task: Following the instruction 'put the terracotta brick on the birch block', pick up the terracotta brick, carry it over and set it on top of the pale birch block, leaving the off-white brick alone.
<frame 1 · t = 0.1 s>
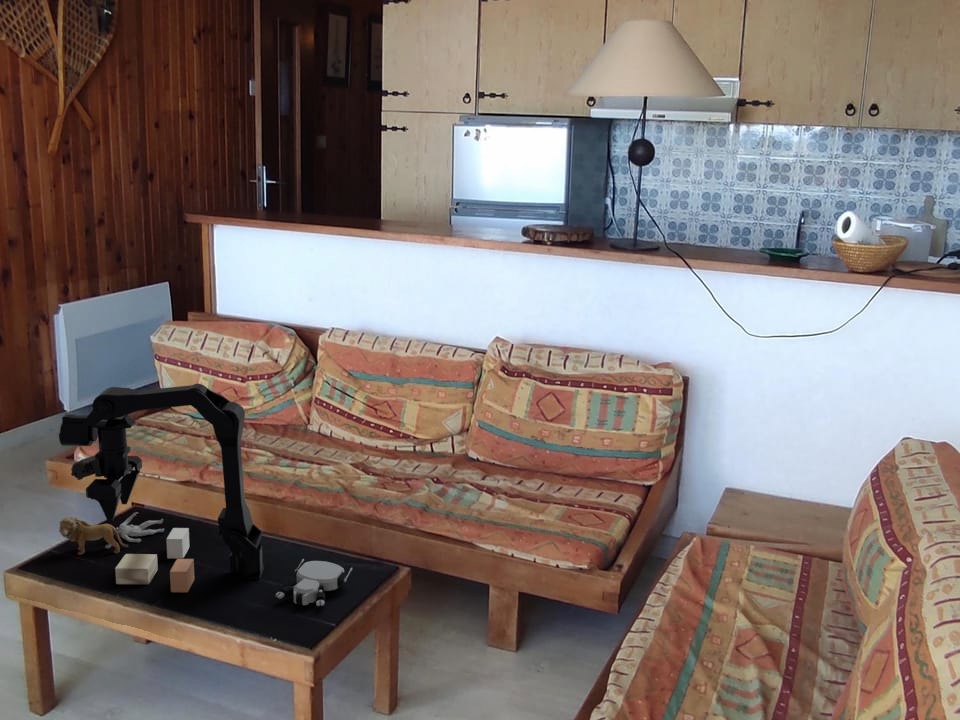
hand: (117, 512, 205), 15 cm above the table, fingers open, 9 cm apart
off-white brick: (178, 552, 219), on the table
birch block: (137, 577, 207), on the table
terracotta brick: (182, 585, 204), on the table
lion figurine: (92, 552, 218), on the table
soldier figure: (138, 537, 227), on the table
robot toy: (313, 594, 203), on the table
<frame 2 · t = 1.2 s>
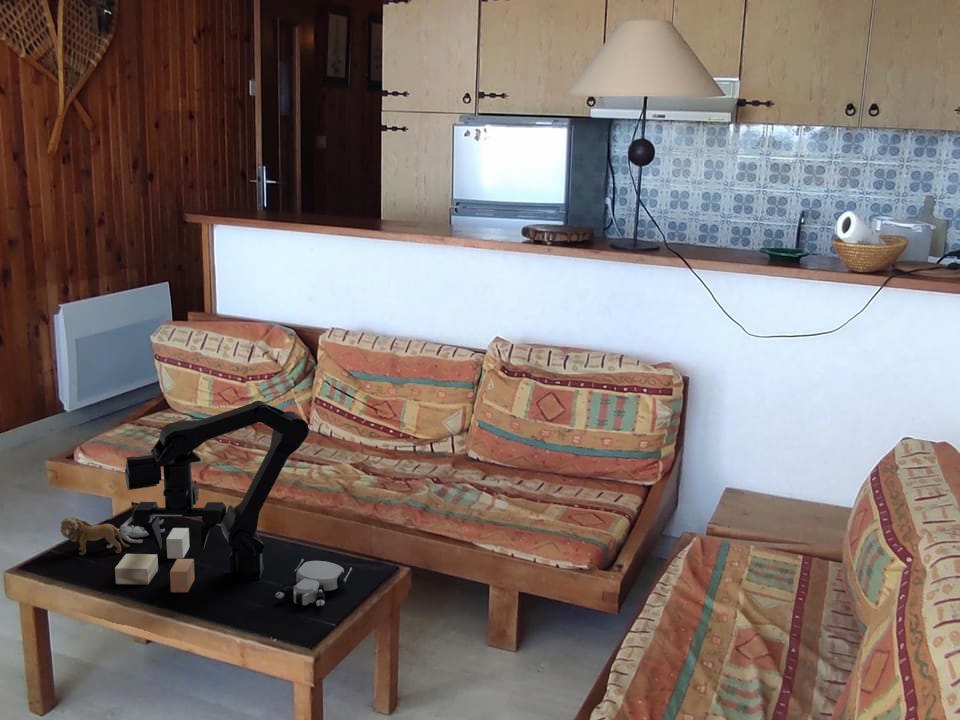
hand: (181, 548, 202), 9 cm above the table, fingers open, 9 cm apart
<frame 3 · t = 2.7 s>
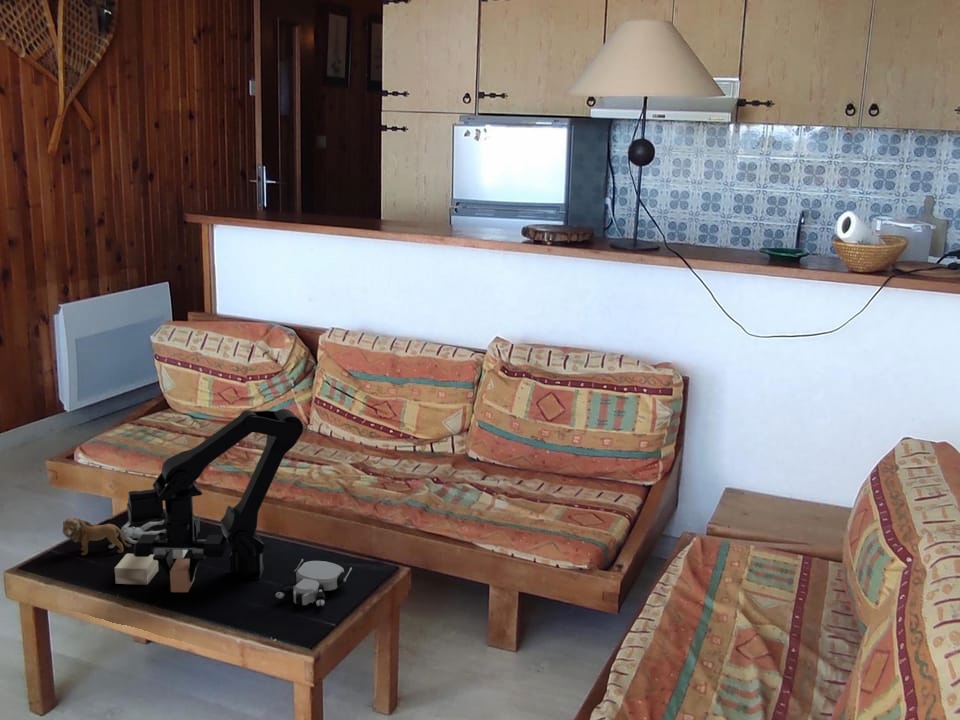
hand: (182, 581, 204), 1 cm above the table, fingers closed on terracotta brick, 4 cm apart
terracotta brick: (182, 585, 204), on the table, touching gripper
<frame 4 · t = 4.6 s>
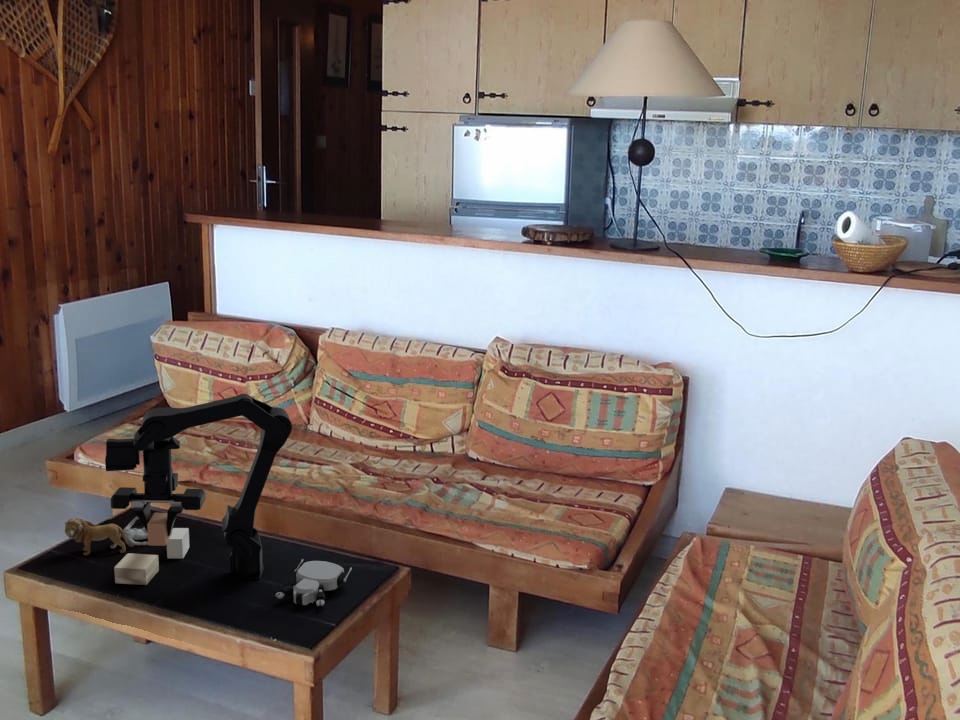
hand: (159, 535, 202), 11 cm above the table, fingers closed on terracotta brick, 4 cm apart
terracotta brick: (160, 539, 202), point 10 cm above the table, touching gripper
when the fingers open (6 cm above the table, at t = 6.5 s): terracotta brick drops 2 cm, point 4 cm above the table.
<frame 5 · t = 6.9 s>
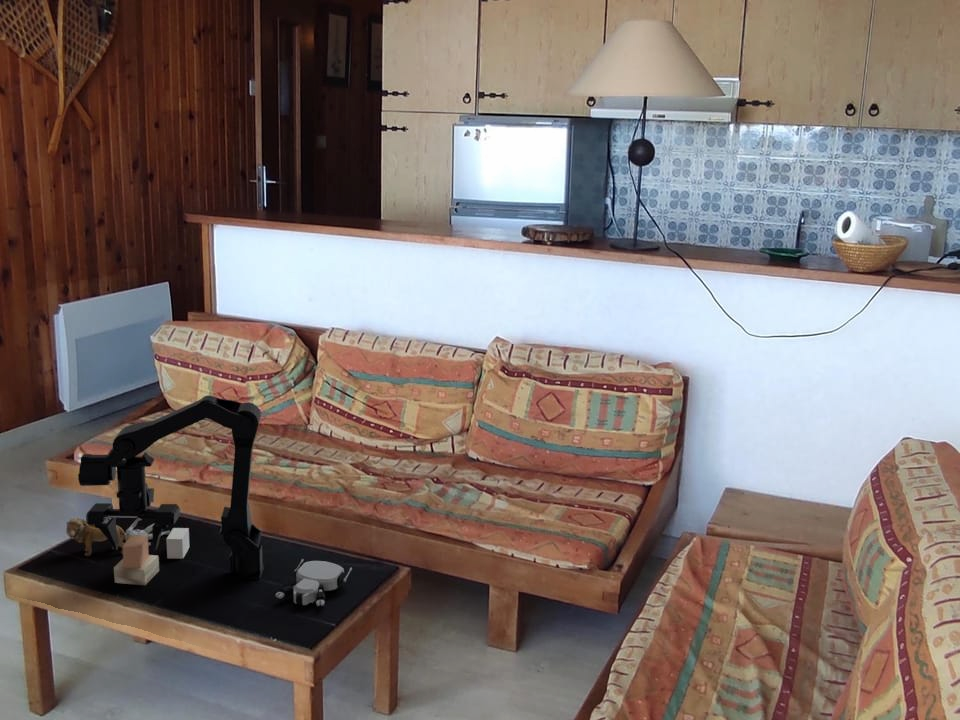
hand: (135, 549, 206), 6 cm above the table, fingers open, 8 cm apart
terracotta brick: (136, 561, 206), point 4 cm above the table
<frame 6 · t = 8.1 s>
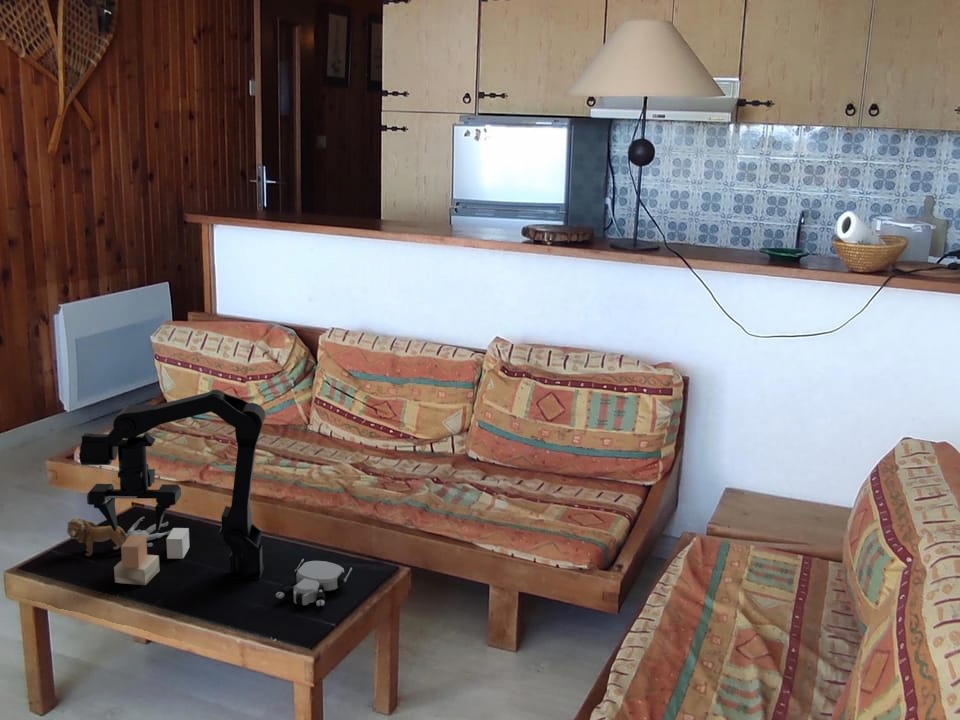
hand: (136, 530, 205), 11 cm above the table, fingers open, 9 cm apart
birch block: (137, 577, 207), on the table, touching terracotta brick
terracotta brick: (134, 561, 206), point 4 cm above the table, touching birch block
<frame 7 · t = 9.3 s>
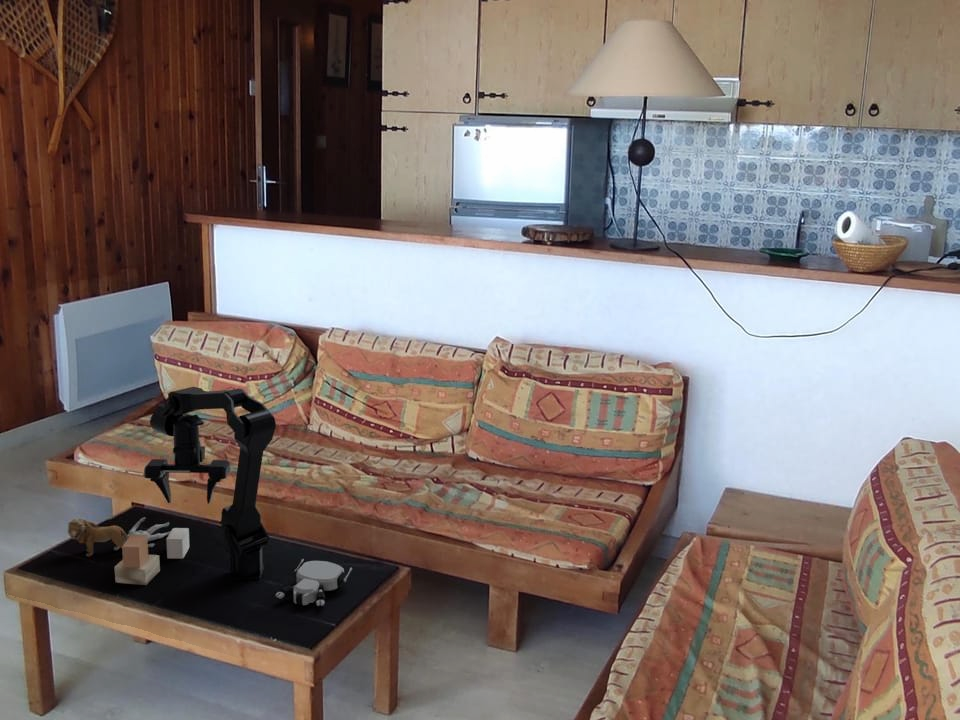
hand: (189, 502, 220), 11 cm above the table, fingers open, 9 cm apart
birch block: (138, 577, 207), on the table
terracotta brick: (135, 561, 206), point 4 cm above the table
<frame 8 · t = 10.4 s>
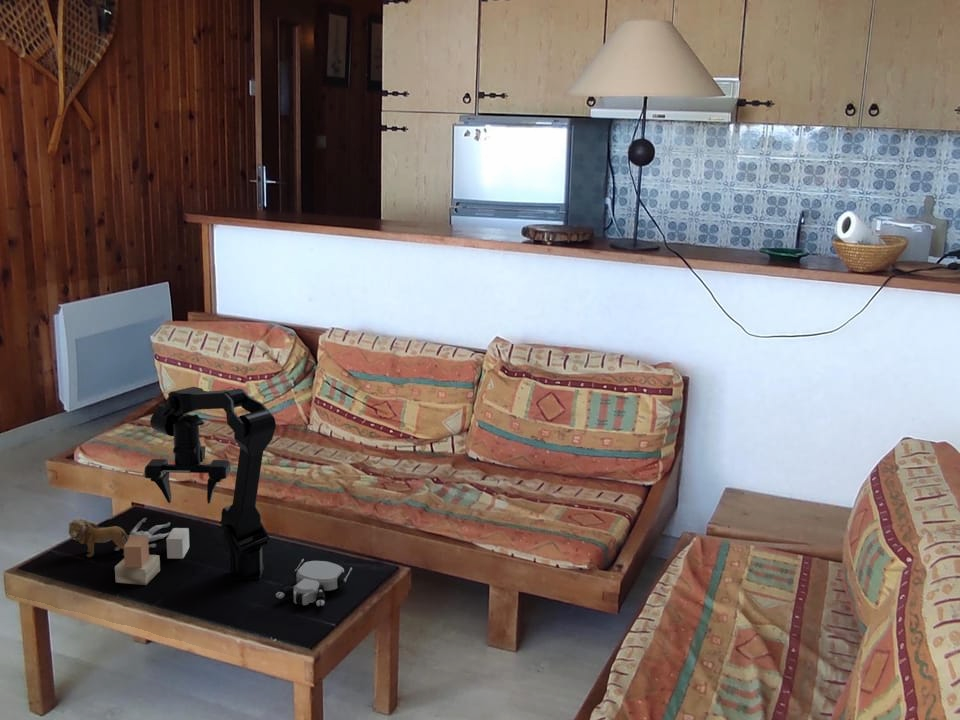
hand: (189, 502, 220), 11 cm above the table, fingers open, 9 cm apart
birch block: (138, 577, 207), on the table, touching terracotta brick
terracotta brick: (137, 561, 206), point 4 cm above the table, touching birch block
at the end: terracotta brick 0.2 cm off-centre on the birch block, point 4.0 cm above the birch block's base; terracotta brick tilted 0°; off-white brick moved 0.1 cm from its start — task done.
